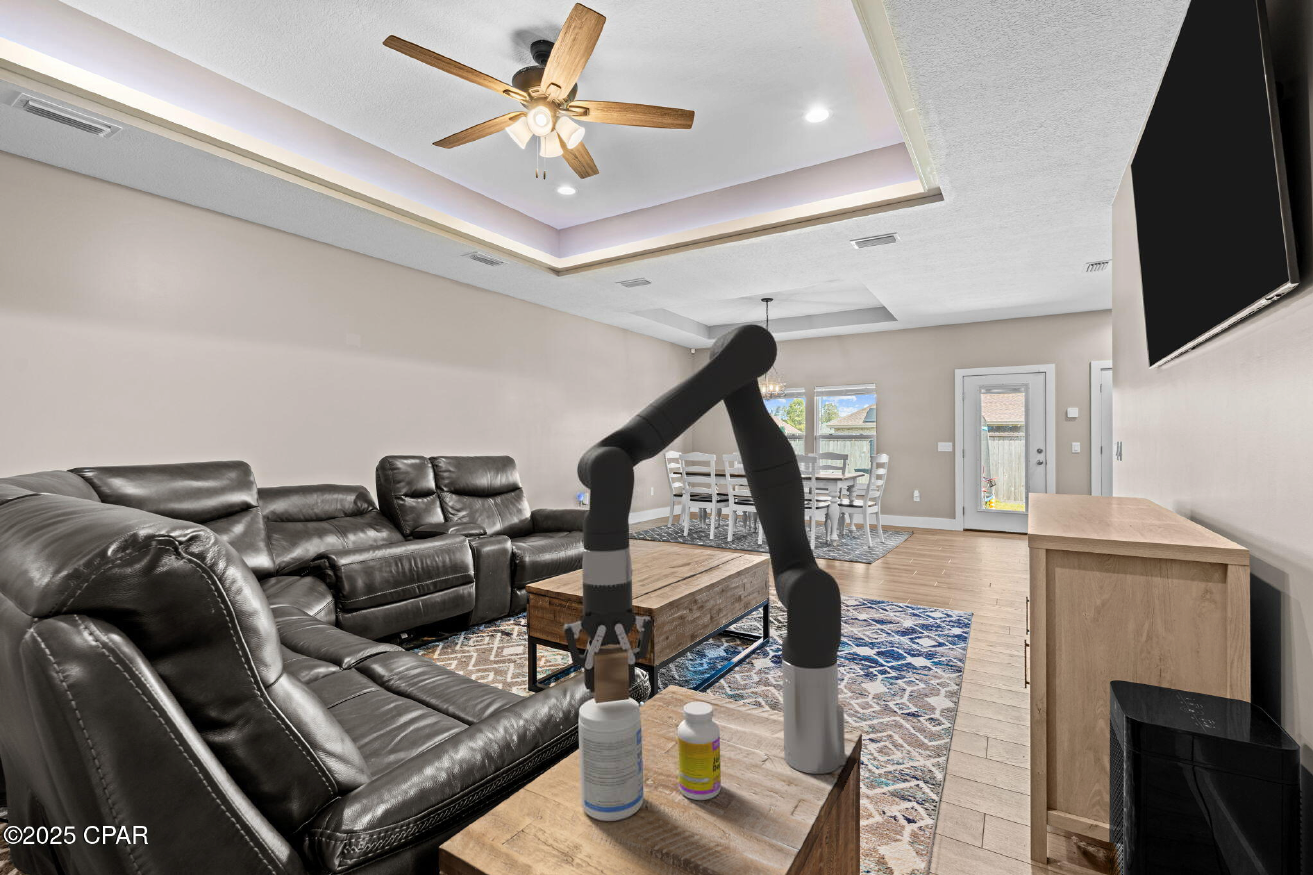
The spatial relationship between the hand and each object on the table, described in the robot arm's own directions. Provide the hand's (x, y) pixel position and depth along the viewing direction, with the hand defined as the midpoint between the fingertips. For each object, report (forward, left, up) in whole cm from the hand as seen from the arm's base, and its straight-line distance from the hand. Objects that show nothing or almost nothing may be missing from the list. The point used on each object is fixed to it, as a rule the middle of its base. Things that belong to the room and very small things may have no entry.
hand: (609, 688), depth 91 cm
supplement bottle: (-14, 0, -18) cm, 23 cm away
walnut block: (0, 0, -1) cm, 1 cm away
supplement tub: (0, 0, -18) cm, 18 cm away
